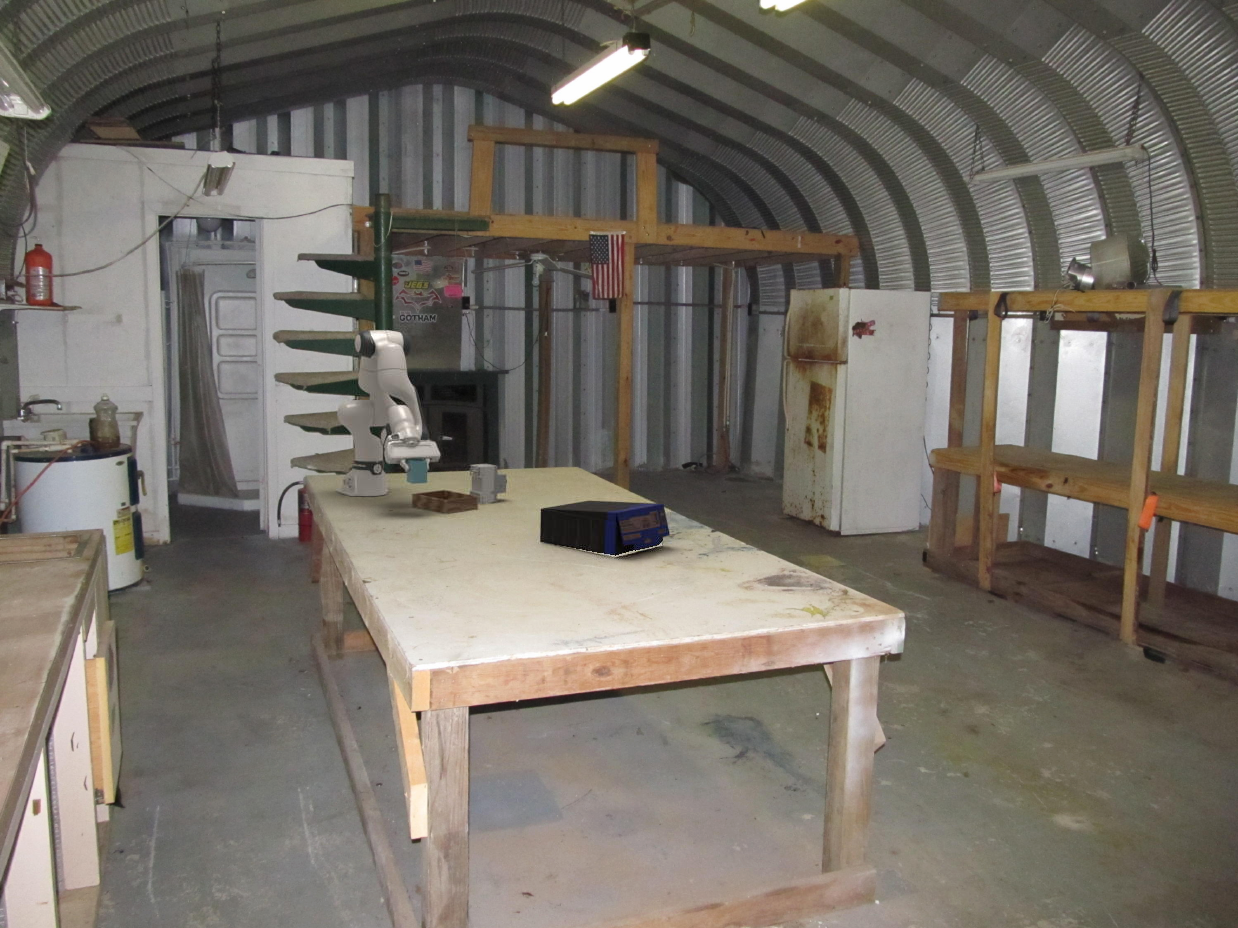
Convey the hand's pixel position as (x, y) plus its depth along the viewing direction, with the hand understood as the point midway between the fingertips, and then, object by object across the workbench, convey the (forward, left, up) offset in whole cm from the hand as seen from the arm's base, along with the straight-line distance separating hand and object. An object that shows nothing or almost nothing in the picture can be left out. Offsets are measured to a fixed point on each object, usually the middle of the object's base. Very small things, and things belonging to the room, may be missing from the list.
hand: (417, 470), depth 341 cm
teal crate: (-1, 0, -4) cm, 4 cm away
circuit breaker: (-8, +42, -17) cm, 46 cm away
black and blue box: (+78, +15, -18) cm, 81 cm away
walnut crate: (-8, +19, -17) cm, 27 cm away
